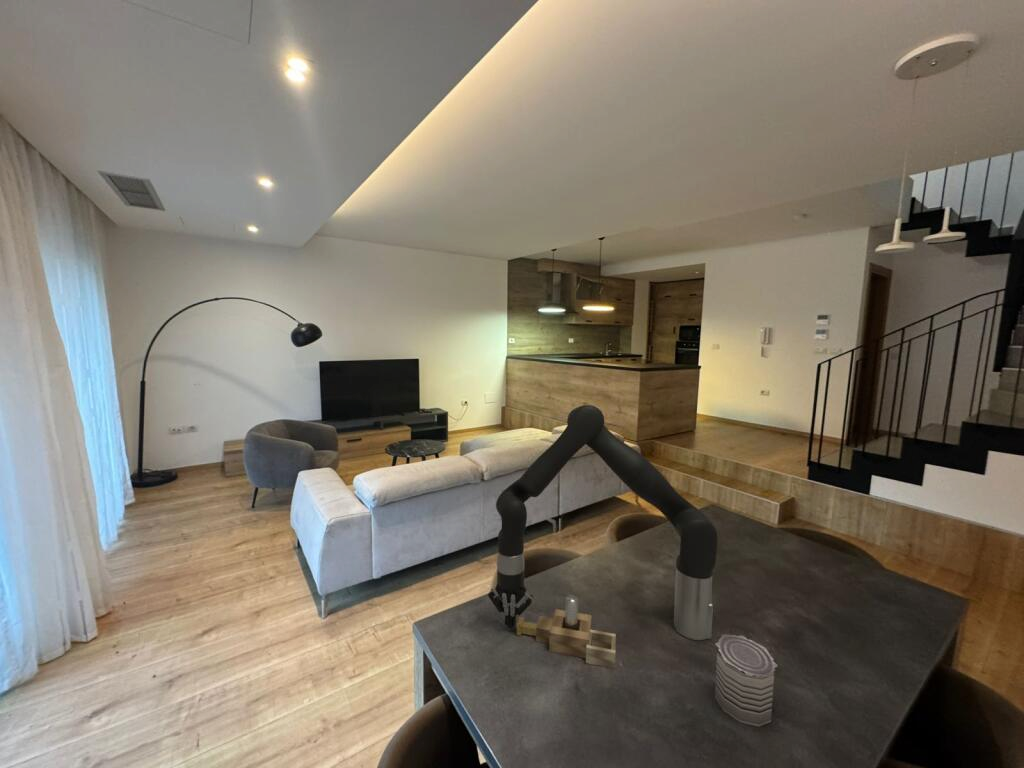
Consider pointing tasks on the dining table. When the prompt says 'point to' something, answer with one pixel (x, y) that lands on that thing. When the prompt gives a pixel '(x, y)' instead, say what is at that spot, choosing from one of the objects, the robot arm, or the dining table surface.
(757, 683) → the can
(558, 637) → the socket block
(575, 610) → the rod
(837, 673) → the dining table surface
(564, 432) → the robot arm
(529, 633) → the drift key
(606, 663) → the frame
